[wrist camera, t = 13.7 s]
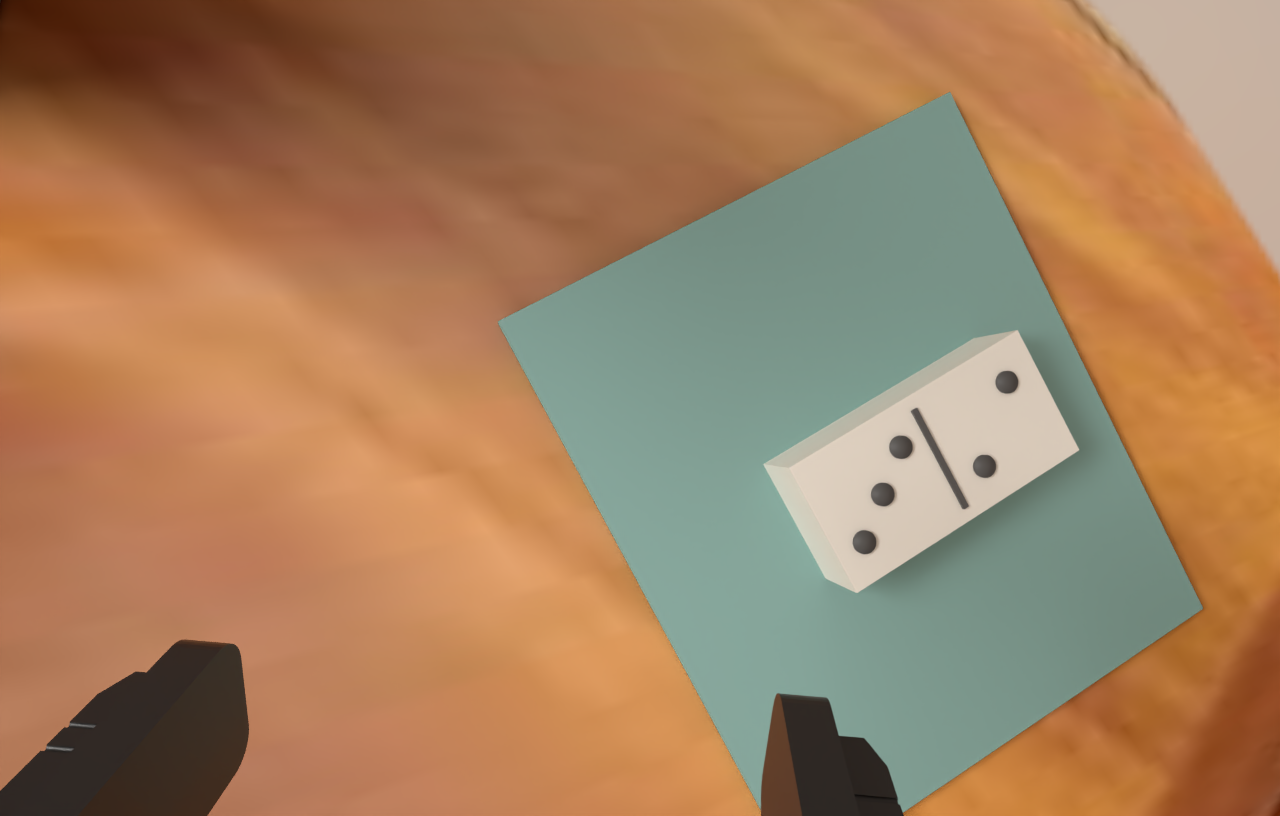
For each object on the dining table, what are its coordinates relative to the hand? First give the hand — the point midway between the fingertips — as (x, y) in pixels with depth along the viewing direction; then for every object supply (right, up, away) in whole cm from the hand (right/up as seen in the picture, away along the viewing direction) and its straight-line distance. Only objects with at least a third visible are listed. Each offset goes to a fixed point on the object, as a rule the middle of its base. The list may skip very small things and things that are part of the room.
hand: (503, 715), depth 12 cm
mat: (+12, +2, +23) cm, 26 cm away
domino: (+9, 0, +20) cm, 22 cm away
